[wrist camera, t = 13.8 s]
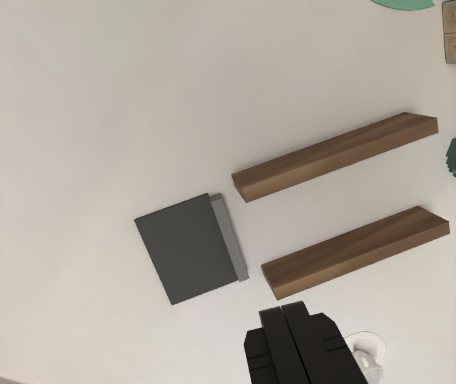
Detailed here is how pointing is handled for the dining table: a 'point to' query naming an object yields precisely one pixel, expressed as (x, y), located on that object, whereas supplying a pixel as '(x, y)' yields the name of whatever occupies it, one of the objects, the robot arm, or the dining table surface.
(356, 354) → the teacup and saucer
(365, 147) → the lane
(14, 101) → the dining table surface
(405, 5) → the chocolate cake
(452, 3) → the stack of blocks
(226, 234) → the mat
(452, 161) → the can
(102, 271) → the dining table surface
